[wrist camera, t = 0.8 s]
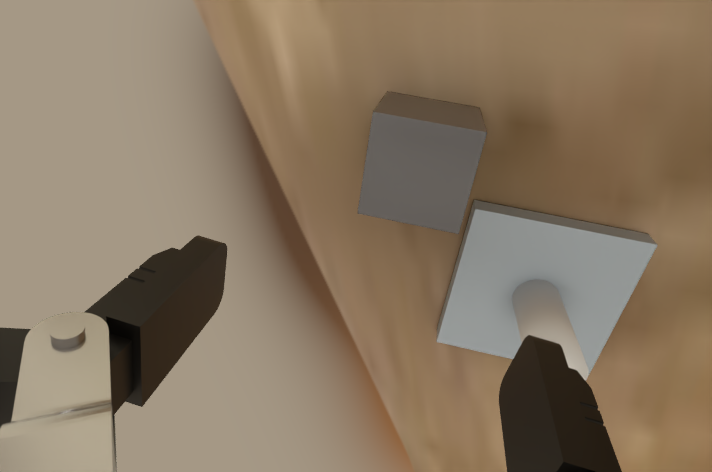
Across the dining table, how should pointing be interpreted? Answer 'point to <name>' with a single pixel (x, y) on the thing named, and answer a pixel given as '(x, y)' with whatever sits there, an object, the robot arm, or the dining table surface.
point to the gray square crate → (421, 161)
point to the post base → (539, 255)
